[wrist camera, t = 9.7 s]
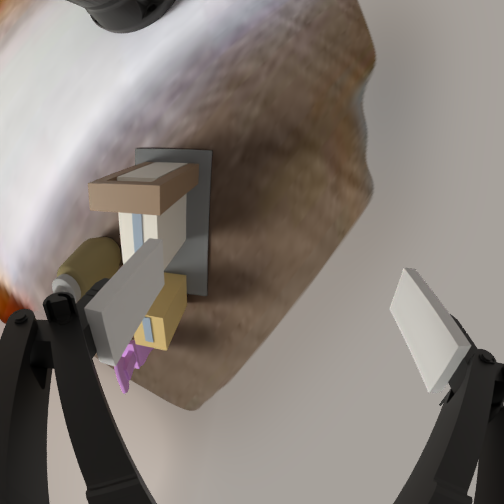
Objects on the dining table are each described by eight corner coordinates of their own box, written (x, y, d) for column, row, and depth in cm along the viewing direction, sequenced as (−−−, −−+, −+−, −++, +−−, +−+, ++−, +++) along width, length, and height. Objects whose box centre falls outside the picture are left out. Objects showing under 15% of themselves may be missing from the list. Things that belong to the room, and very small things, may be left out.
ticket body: (145, 161, 41) (88, 183, 27) (199, 163, 41) (159, 185, 27) (146, 235, 46) (99, 282, 32) (196, 240, 46) (163, 293, 32)
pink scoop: (114, 310, 54) (79, 360, 40) (154, 317, 53) (123, 372, 40) (122, 341, 57) (93, 391, 44) (159, 349, 57) (134, 403, 43)
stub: (158, 271, 48) (129, 312, 37) (186, 275, 48) (162, 319, 37) (160, 300, 51) (135, 344, 40) (187, 304, 51) (166, 351, 40)
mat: (136, 148, 41) (135, 148, 40) (212, 150, 40) (211, 150, 40) (142, 285, 51) (142, 286, 50) (207, 295, 50) (206, 296, 50)
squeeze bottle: (86, 257, 49) (28, 309, 33) (96, 222, 46) (30, 269, 30) (120, 279, 51) (69, 340, 34) (133, 245, 47) (76, 303, 31)
